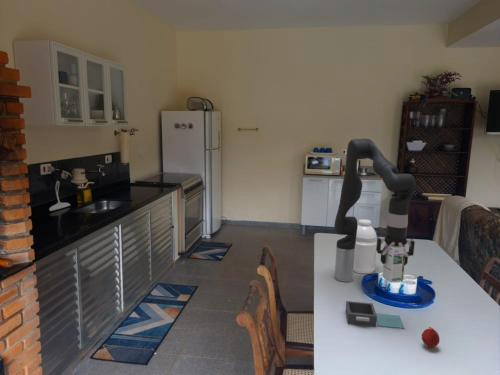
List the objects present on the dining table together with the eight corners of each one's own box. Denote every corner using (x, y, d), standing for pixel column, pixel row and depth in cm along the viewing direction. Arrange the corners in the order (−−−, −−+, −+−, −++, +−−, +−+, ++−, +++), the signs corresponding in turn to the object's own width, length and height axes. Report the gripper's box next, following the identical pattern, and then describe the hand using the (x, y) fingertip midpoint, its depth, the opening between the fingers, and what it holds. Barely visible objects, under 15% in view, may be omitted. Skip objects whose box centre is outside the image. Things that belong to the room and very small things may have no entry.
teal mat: (374, 314, 157) (374, 312, 157) (399, 316, 156) (399, 315, 156) (378, 326, 148) (378, 325, 148) (404, 329, 146) (404, 328, 146)
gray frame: (345, 310, 160) (346, 301, 159) (371, 313, 158) (372, 303, 157) (348, 325, 148) (348, 315, 147) (376, 328, 146) (377, 318, 145)
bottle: (376, 267, 209) (380, 219, 204) (373, 276, 197) (377, 225, 192) (350, 262, 215) (354, 216, 210) (346, 271, 203) (349, 221, 198)
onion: (433, 342, 137) (435, 322, 136) (441, 352, 132) (444, 331, 130) (417, 342, 137) (419, 322, 136) (425, 352, 132) (427, 331, 130)
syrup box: (390, 282, 145) (393, 247, 143) (381, 276, 151) (384, 242, 148) (403, 281, 147) (406, 246, 144) (393, 275, 152) (396, 241, 150)
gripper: (413, 222, 147) (410, 262, 150) (376, 220, 149) (373, 259, 152) (419, 228, 140) (414, 269, 143) (379, 225, 142) (376, 266, 145)
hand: (393, 264), depth 148 cm, fingers closed on syrup box, 7 cm apart
